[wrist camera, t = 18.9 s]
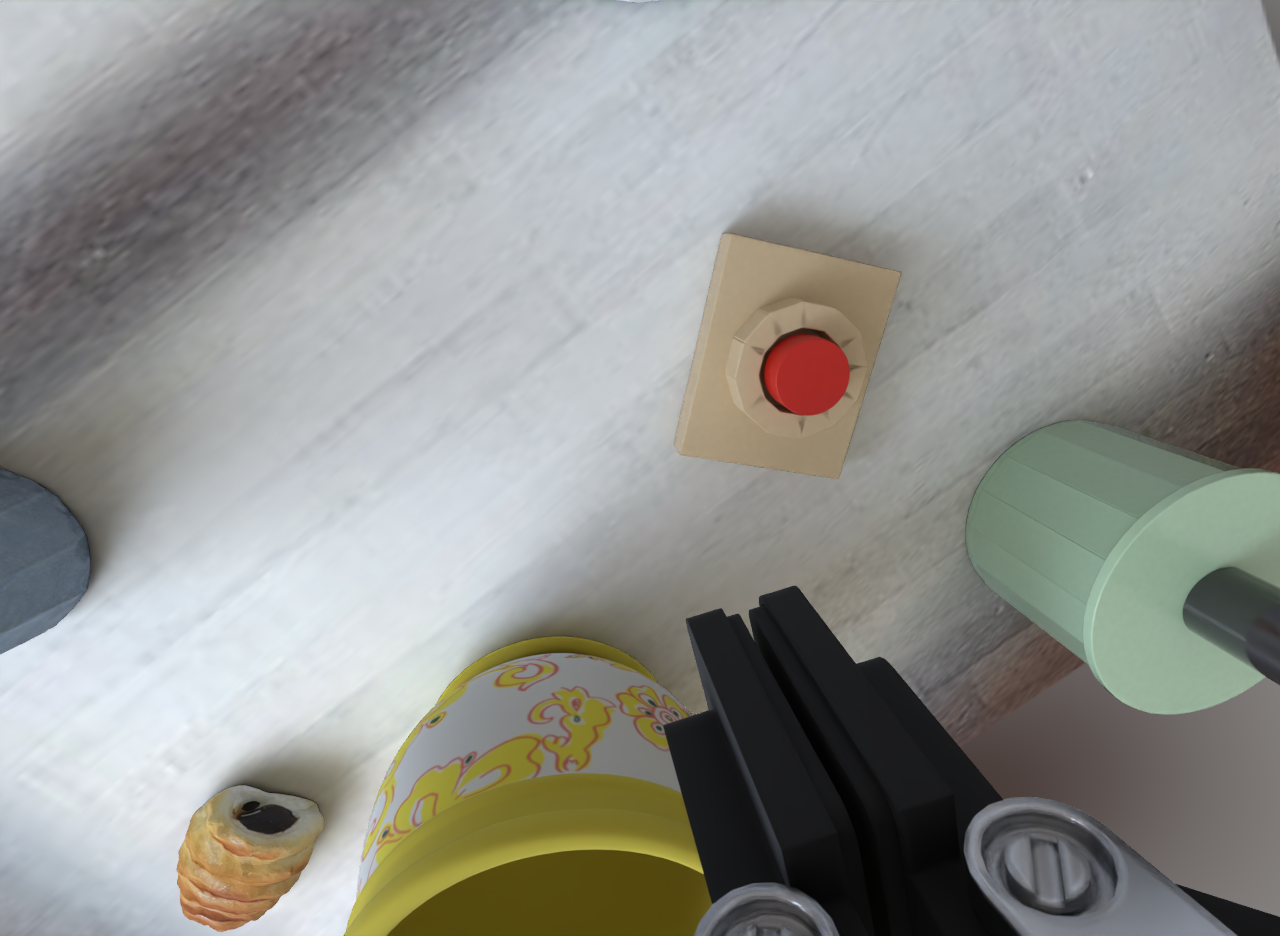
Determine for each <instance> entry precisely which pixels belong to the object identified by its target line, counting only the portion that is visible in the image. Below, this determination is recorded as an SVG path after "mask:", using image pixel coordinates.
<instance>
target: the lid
mask: <svg viewBox="0 0 1280 936" xmlns="http://www.w3.org/2000/svg"><path fill="white" fill-rule="evenodd" d="M1083 644H1084V650H1085V654H1086V658H1087V661H1088V664H1089V666H1090V668H1091V670H1092V672H1093V674H1094V675H1095V677H1096V678H1097V680H1098V681H1099V683H1100V684H1101V685H1102V686H1103V687H1104V688H1105V689H1106V690H1107V691H1108V692H1109V693H1111V694H1112V695H1113V696H1114V697H1116V698H1117V699H1119V700H1120V701H1122V702H1123V703H1125V704H1126V705H1129V706H1131V707H1133V708H1135V709H1138V710H1142V711H1145V712H1149V713H1156V714H1182V713H1189V712H1194V711H1198V710H1202V709H1206V708H1209V707H1212V706H1215V705H1217V704H1220V703H1223V702H1225V701H1227V700H1229V699H1231V698H1233V697H1235V696H1237V695H1239V694H1241V693H1242V692H1244V691H1245V690H1247V689H1249V688H1250V687H1252V686H1254V685H1255V684H1257V683H1258V682H1259V681H1261V680H1262V679H1264V678H1265V677H1267V678H1269V679H1271V680H1272V681H1274V682H1276V683H1277V684H1279V685H1280V473H1279V472H1275V471H1270V470H1266V469H1251V468H1247V469H1236V470H1229V471H1224V472H1220V473H1216V474H1212V475H1209V476H1207V477H1204V478H1201V479H1198V480H1196V481H1194V482H1192V483H1190V484H1188V485H1186V486H1183V487H1181V488H1180V489H1178V490H1176V491H1175V492H1173V493H1171V494H1170V495H1168V496H1167V497H1165V498H1163V499H1162V500H1161V501H1159V502H1158V503H1157V504H1156V505H1154V506H1153V507H1152V508H1150V509H1149V510H1148V511H1147V512H1146V513H1144V514H1143V515H1142V516H1141V517H1140V518H1139V519H1138V520H1137V521H1136V522H1135V523H1134V524H1133V525H1132V526H1131V527H1130V528H1129V529H1128V530H1127V531H1126V533H1125V534H1124V535H1123V536H1122V537H1121V538H1120V540H1119V541H1118V542H1117V544H1116V545H1115V546H1114V548H1113V549H1112V550H1111V552H1110V553H1109V555H1108V556H1107V558H1106V560H1105V561H1104V563H1103V565H1102V566H1101V568H1100V570H1099V572H1098V574H1097V576H1096V579H1095V581H1094V583H1093V585H1092V588H1091V591H1090V594H1089V597H1088V600H1087V604H1086V608H1085V613H1084V620H1083Z"/></svg>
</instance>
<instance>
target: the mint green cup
mask: <svg viewBox="0 0 1280 936" xmlns="http://www.w3.org/2000/svg"><path fill="white" fill-rule="evenodd" d="M1236 469H1241V468H1239V467H1236V466H1233V465H1230V464H1227V463H1224V462H1221V461H1218V460H1215V459H1212V458H1209V457H1206V456H1203V455H1200V454H1197V453H1194V452H1191V451H1188V450H1185V449H1182V448H1179V447H1176V446H1173V445H1170V444H1167V443H1164V442H1161V441H1158V440H1155V439H1152V438H1149V437H1146V436H1143V435H1140V434H1137V433H1134V432H1131V431H1128V430H1125V429H1123V428H1120V427H1117V426H1114V425H1107V424H1102V423H1098V422H1093V421H1086V420H1073V421H1064V422H1060V423H1055V424H1052V425H1049V426H1046V427H1043V428H1041V429H1039V430H1037V431H1035V432H1033V433H1031V434H1029V435H1027V436H1026V437H1024V438H1022V439H1021V440H1019V441H1018V442H1017V443H1015V444H1014V445H1013V446H1011V447H1010V448H1009V449H1008V450H1007V451H1006V452H1005V453H1004V454H1003V455H1001V456H1000V457H999V458H998V459H997V461H996V462H995V463H994V464H993V465H992V467H991V468H990V469H989V470H988V472H987V473H986V475H985V476H984V478H983V479H982V481H981V483H980V485H979V487H978V488H977V490H976V492H975V495H974V497H973V500H972V502H971V505H970V509H969V513H968V517H967V524H966V544H967V551H968V554H969V557H970V560H971V563H972V565H973V567H974V569H975V571H976V572H977V573H978V575H979V576H980V578H981V579H982V580H983V581H984V582H985V583H986V584H987V586H988V587H989V588H990V589H991V590H993V591H994V592H995V593H997V594H998V595H999V596H1000V597H1002V598H1003V599H1004V600H1006V601H1007V602H1008V603H1009V604H1011V605H1012V606H1013V607H1015V608H1016V609H1017V610H1018V611H1020V612H1021V613H1022V614H1024V615H1025V616H1026V617H1027V618H1029V619H1030V620H1031V621H1033V622H1034V623H1035V624H1036V625H1038V626H1039V627H1040V628H1042V629H1043V630H1044V631H1046V632H1047V633H1048V634H1049V635H1051V636H1052V637H1053V638H1055V639H1056V640H1057V641H1058V642H1060V643H1061V644H1062V645H1064V646H1065V647H1066V648H1067V649H1069V650H1070V651H1071V652H1073V653H1074V654H1075V655H1076V656H1078V657H1079V658H1080V659H1082V660H1083V661H1084V662H1085V663H1087V664H1088V661H1087V658H1086V654H1085V650H1084V644H1083V620H1084V613H1085V608H1086V604H1087V600H1088V597H1089V594H1090V591H1091V588H1092V585H1093V583H1094V581H1095V579H1096V576H1097V574H1098V572H1099V570H1100V568H1101V566H1102V565H1103V563H1104V561H1105V560H1106V558H1107V556H1108V555H1109V553H1110V552H1111V550H1112V549H1113V548H1114V546H1115V545H1116V544H1117V542H1118V541H1119V540H1120V538H1121V537H1122V536H1123V535H1124V534H1125V533H1126V531H1127V530H1128V529H1129V528H1130V527H1131V526H1132V525H1133V524H1134V523H1135V522H1136V521H1137V520H1138V519H1139V518H1140V517H1141V516H1142V515H1143V514H1144V513H1146V512H1147V511H1148V510H1149V509H1150V508H1152V507H1153V506H1154V505H1156V504H1157V503H1158V502H1159V501H1161V500H1162V499H1163V498H1165V497H1167V496H1168V495H1170V494H1171V493H1173V492H1175V491H1176V490H1178V489H1180V488H1181V487H1183V486H1186V485H1188V484H1190V483H1192V482H1194V481H1196V480H1198V479H1201V478H1204V477H1207V476H1209V475H1212V474H1216V473H1220V472H1224V471H1229V470H1236ZM1088 665H1089V664H1088Z"/></svg>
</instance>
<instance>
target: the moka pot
mask: <svg viewBox="0 0 1280 936" xmlns="http://www.w3.org/2000/svg"><path fill="white" fill-rule="evenodd" d="M89 579H90V555H89V547H88V540H87V538H86V535H85V533H84V531H83V529H82V527H81V526H80V524H79V523H78V521H77V520H76V518H75V517H74V516H73V515H72V514H71V513H70V512H69V510H68V509H67V508H66V507H65V506H64V505H63V504H62V502H61V501H60V500H59V498H58V497H57V496H56V495H54V494H52V493H51V492H49V491H48V490H47V489H45V488H43V487H41V486H40V485H39V484H37V483H36V482H34V481H32V480H30V479H27V478H24V477H22V476H19V475H17V474H15V473H13V472H10V471H5V470H3V469H2V468H0V654H2V653H4V652H6V651H8V650H10V649H12V648H14V647H16V646H18V645H20V644H23V643H25V642H26V641H28V640H30V639H32V638H34V637H36V636H38V635H40V634H42V633H44V632H45V631H47V630H48V629H51V628H52V627H54V626H56V625H57V624H58V622H59V621H61V620H62V619H63V618H64V617H65V616H66V615H67V614H68V613H69V612H70V611H71V610H72V609H73V608H74V607H75V605H76V604H77V603H78V602H79V601H80V599H81V598H82V596H83V595H84V593H85V592H86V590H87V588H88V583H89Z"/></svg>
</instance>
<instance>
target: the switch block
mask: <svg viewBox="0 0 1280 936" xmlns="http://www.w3.org/2000/svg"><path fill="white" fill-rule="evenodd" d="M900 277H901V272H899V271H895V270H890V269H886V268H881V267H877V266H873V265H868V264H864V263H859V262H855V261H851V260H846V259H842V258H837V257H833V256H829V255H824V254H820V253H816V252H811V251H807V250H802V249H798V248H794V247H789V246H785V245H780V244H776V243H772V242H767V241H763V240H758V239H754V238H750V237H745V236H741V235H736V234H731V233H722V235H721V239H720V244H719V248H718V252H717V257H716V261H715V265H714V270H713V274H712V279H711V283H710V287H709V292H708V296H707V301H706V305H705V309H704V314H703V318H702V323H701V327H700V331H699V336H698V340H697V344H696V349H695V353H694V358H693V362H692V366H691V371H690V375H689V380H688V384H687V388H686V393H685V397H684V402H683V406H682V410H681V415H680V419H679V423H678V428H677V432H676V437H675V441H674V446H675V448H676V449H677V451H678V452H679V454H680V455H685V456H691V457H698V458H704V459H711V460H717V461H724V462H730V463H736V464H743V465H749V466H756V467H762V468H769V469H775V470H782V471H788V472H795V473H801V474H808V475H814V476H821V477H827V478H834V479H839V477H840V473H841V470H842V467H843V463H844V460H845V457H846V454H847V450H848V447H849V444H850V440H851V437H852V434H853V431H854V427H855V424H856V421H857V418H858V414H859V411H860V408H861V404H862V401H863V398H864V395H865V391H866V388H867V385H868V381H869V378H870V375H871V372H872V368H873V365H874V362H875V359H876V355H877V352H878V349H879V345H880V342H881V339H882V336H883V332H884V329H885V326H886V322H887V319H888V316H889V313H890V309H891V306H892V303H893V300H894V296H895V293H896V290H897V286H898V283H899V280H900ZM795 334H812V335H815V336H818V337H820V338H823V339H826V340H828V341H831V342H833V343H834V344H836V345H837V346H838V347H840V348H841V350H842V351H843V352H844V354H845V355H846V357H847V360H848V363H849V368H850V378H849V383H848V386H847V389H846V391H845V393H844V395H843V396H842V398H841V399H840V400H839V402H838V403H837V404H836V405H834V406H833V407H832V408H831V409H829V410H827V411H825V412H823V413H820V414H817V415H811V416H806V415H800V414H796V413H794V412H792V411H790V410H789V409H787V408H786V407H784V406H783V405H782V404H780V403H779V402H777V401H776V400H775V399H774V398H773V397H772V396H771V395H770V393H769V392H768V390H767V388H766V385H765V380H764V368H765V364H766V361H767V358H768V356H769V354H770V353H771V351H772V350H773V348H774V347H775V346H776V345H777V344H778V343H779V342H781V341H782V340H784V339H785V338H787V337H789V336H792V335H795Z"/></svg>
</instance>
